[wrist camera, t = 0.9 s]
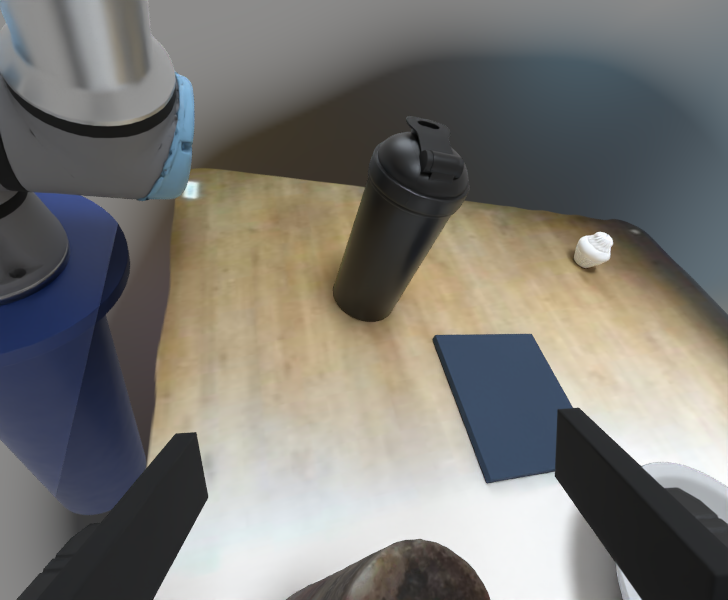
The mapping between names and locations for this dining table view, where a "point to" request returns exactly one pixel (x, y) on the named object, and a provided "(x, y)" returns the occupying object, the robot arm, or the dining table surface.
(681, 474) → the soup bowl
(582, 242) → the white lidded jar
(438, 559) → the candle
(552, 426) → the mat
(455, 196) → the water bottle
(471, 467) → the dining table surface
